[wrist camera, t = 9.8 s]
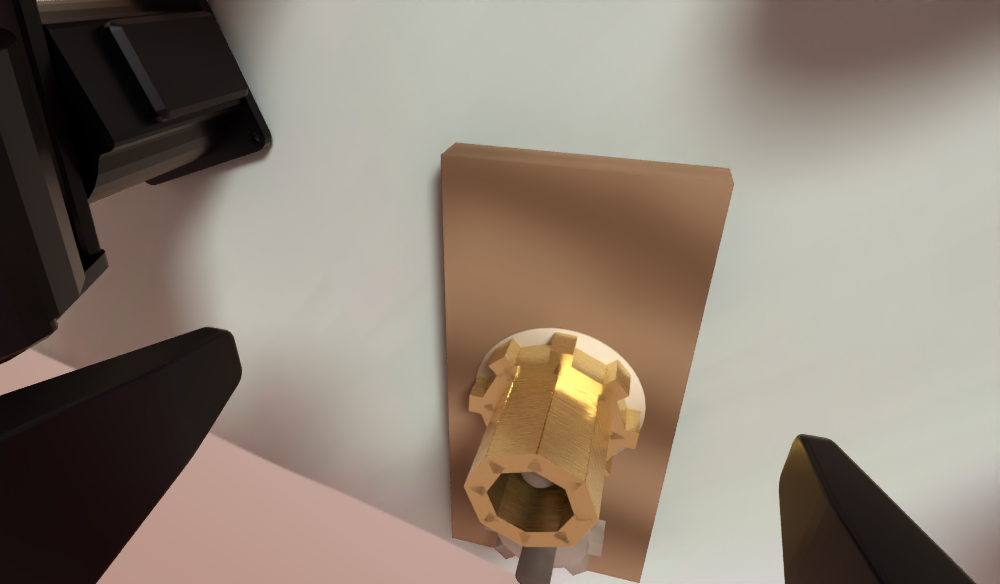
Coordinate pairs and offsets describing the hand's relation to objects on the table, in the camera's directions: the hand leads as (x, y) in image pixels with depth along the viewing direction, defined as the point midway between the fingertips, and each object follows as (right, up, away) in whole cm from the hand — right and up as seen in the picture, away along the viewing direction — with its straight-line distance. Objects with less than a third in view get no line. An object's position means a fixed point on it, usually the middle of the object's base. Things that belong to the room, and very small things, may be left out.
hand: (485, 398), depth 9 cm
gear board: (+3, -2, +15) cm, 15 cm away
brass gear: (+2, -3, +13) cm, 14 cm away
